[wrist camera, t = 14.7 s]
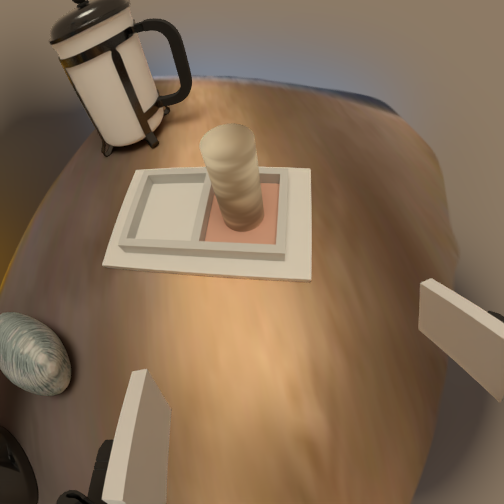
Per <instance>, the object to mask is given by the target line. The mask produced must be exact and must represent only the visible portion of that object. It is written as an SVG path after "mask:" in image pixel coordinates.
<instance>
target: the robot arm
mask: <svg viewBox="0 0 504 504" xmlns="http://www.w3.org/2000/svg"><path fill="white" fill-rule="evenodd" d="M418 329H419V330H420V331H421V332H422V333H423V334H425V335H426V336H427V337H428V338H429V339H430V340H432V341H433V342H434V343H435V344H436V345H437V346H439V347H440V348H441V349H442V350H443V351H444V352H445V353H446V354H448V355H449V356H450V357H451V358H452V359H454V361H456V362H457V363H458V364H459V365H460V366H461V367H462V368H463V369H464V370H465V371H467V372H468V373H469V374H470V375H471V376H472V377H473V378H474V379H475V380H476V381H478V383H480V384H481V385H482V386H483V387H484V388H485V389H486V390H487V391H488V392H489V393H490V394H491V395H492V396H493V397H494V398H496V399H497V400H498V401H499V402H501V401H502V400H504V317H503V316H502V315H500V314H498V313H495V312H491V311H488V312H486V311H484V310H483V309H481V308H479V307H478V306H476V305H475V304H473V303H472V302H470V301H468V300H467V299H465V298H463V297H462V296H460V295H459V294H457V293H455V292H454V291H452V290H450V289H449V288H447V287H445V286H444V285H442V284H440V283H438V282H437V281H435V280H433V279H432V278H431V279H428V280H426V281H424V282H422V283H420V307H419V326H418ZM171 411H172V409H171V408H170V406H169V405H168V403H167V401H166V400H165V398H164V396H163V395H162V393H161V392H160V390H159V388H158V387H157V385H156V383H155V381H154V380H153V378H152V376H151V374H150V373H149V371H148V369H143V370H138V371H132V374H131V378H130V381H129V385H128V388H127V392H126V395H125V399H124V402H123V406H122V410H121V414H120V417H119V421H118V425H117V429H116V433H115V437H114V440H105V441H104V443H103V444H102V445H101V447H100V448H99V450H98V454H97V458H96V461H97V462H95V466H94V470H93V474H92V479H91V483H90V487H89V492H88V497H86V496H85V495H83V494H82V493H81V492H78V491H76V490H69V491H67V492H64V493H63V494H62V495H61V496H60V497H59V499H58V500H57V504H166V491H167V467H168V450H169V435H170V422H171ZM37 500H38V491H37V485H36V480H35V477H34V474H33V471H32V468H31V466H30V463H29V461H28V459H27V457H26V455H25V453H24V451H23V450H22V448H21V446H20V445H19V443H18V442H17V441H16V439H15V438H14V437H13V436H12V435H11V434H10V433H9V432H8V431H7V430H6V429H4V428H3V427H1V426H0V504H37Z"/></svg>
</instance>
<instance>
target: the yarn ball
mask: <svg viewBox="0 0 504 504" xmlns="http://www.w3.org/2000/svg"><path fill="white" fill-rule="evenodd" d="M0 369H1V371H2V372H3V374H4V375H5V376H6V377H7V378H8V379H9V380H10V381H11V382H12V383H13V384H15V385H17V386H18V387H20V388H21V389H24V390H25V391H28V392H30V393H33V394H37V395H43V396H53V395H57V394H60V393H61V392H63V391H64V390H65V389H66V388H67V386H68V384H69V382H70V379H71V365H70V361H69V358H68V354H67V352H66V350H65V348H64V346H63V344H62V342H61V340H60V339H59V337H58V336H57V335H56V334H55V333H54V332H53V331H52V330H51V329H50V328H49V327H48V326H46V325H45V324H43V323H41V322H40V321H38V320H36V319H34V318H31V317H29V316H27V315H23V314H21V313H14V312H7V313H3V314H1V315H0Z"/></svg>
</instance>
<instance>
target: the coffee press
mask: <svg viewBox="0 0 504 504" xmlns="http://www.w3.org/2000/svg"><path fill="white" fill-rule="evenodd" d="M72 1H74V2H75V3H77V4H78V5H77V7H76V8H74V9H73V10H71V11H69V12H68V13H66V14H65V15H63V16H62V17H61V18H59V19H58V20H57V21H56V23H55V24H54V25H53V26H52V28H51V32H50V37H51V38H50V39H49V42H50V44H51V45H52V46H53V49H54V50H56V51H57V53H58V55H59V61H60V63H61V65H62V67H63V69H64V71H65V73H66V75H67V77H68V79H69V81H70V83H71V85H72V86H73V88H74V90H75V92H76V94H77V96H78V98H79V100H80V101H81V103H82V105H83V107H84V109H85V111H86V112H87V114H88V116H89V118H90V120H91V121H92V123H93V125H94V127H95V129H96V130H97V132H98V134H99V136H100V137H101V139H102V150H101V152H102V153H103V154H104V155H105V156H109V155H110V154H111V153H112V150H113V147H114V146H126V145H130V144H133V143H136V142H138V141H140V140H142V139H145V140H146V141H147V143H148V144H149V145H150V147H151V148H153V147H155V146H156V145H158V144H159V141H158V140H157V138H156V137H155V135H154V134H153V131H154V130H155V129H156V128H157V127H158V126H159V124H160V123H161V121H162V118H163V114H165V115H166V114H168V113H169V112H170V108H169V107H167V106H169V105H173V104H176V103H179V102H181V101H183V100H184V99H185V98H186V97H187V96H188V94H189V92H190V90H191V86H192V77H191V72H190V68H189V64H188V60H187V56H186V52H185V48H184V45H183V41H182V39H181V36H180V34H179V32H178V30H177V29H176V28H175V27H174V26H173V25H172V24H171V23H169V22H168V21H166V20H162V19H147V20H144V21H142V22H139V23H135V20H134V19H132V16H131V12H130V9H129V7H130V1H129V0H90V1H88V0H87V1H85V0H72ZM79 3H80V4H79ZM149 30H155V31H159V32H161V33H162V34H163V35H164V36H165V37H166V38H167V39H168V41H169V44H170V47H171V51H172V54H173V58H174V61H175V65H176V68H177V72H178V75H179V79H180V84H181V87H180V89H179V90H178V91H177V92H176V93H173V94H170V95H165V96H160V95H159V92H158V90H157V89H156V87H155V84H154V81H153V78H152V75H151V73H150V70H149V67H148V64H147V61H146V58H145V55H144V52H143V49H142V46H141V43H140V40H139V37H138V34H137V33H138V32H142V31H149ZM163 106H165V107H166V109H165V111H163ZM104 140H105V141H104ZM105 142H106V143H108V144H109V145H110V146H109V149H108V151H107V152H106V153H105V147H106V144H105Z"/></svg>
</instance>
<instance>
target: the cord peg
mask: <svg viewBox="0 0 504 504" xmlns="http://www.w3.org/2000/svg"><path fill="white" fill-rule="evenodd" d="M200 151H201V154H202V157H203V160H204V163H205V166H206V169H207V172H208V175H209V178H210V181H211V184H212V187H213V190H214V193H215V196H216V199H217V202H218V205H219V208H220V211H221V213H222V216H223V219H224V222H225V224H226V225H227V226H228V227H229V228H230V229H232V230H234V231H238V232H246V231H250V230H252V229H254V228H256V227H257V226H258V225H259V224H260V223H261V222H262V220H263V217H264V208H263V200H262V192H261V184H260V176H259V168H258V160H257V152H256V145H255V137H254V133H253V132H252V131H251V129H249V128H248V127H246V126H244V125H240V124H224V125H220V126H217V127H215V128H213V129H211V130H210V131H208V132H207V133H206V134H205V135H204V136H203V137H202V139H201V141H200Z"/></svg>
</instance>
